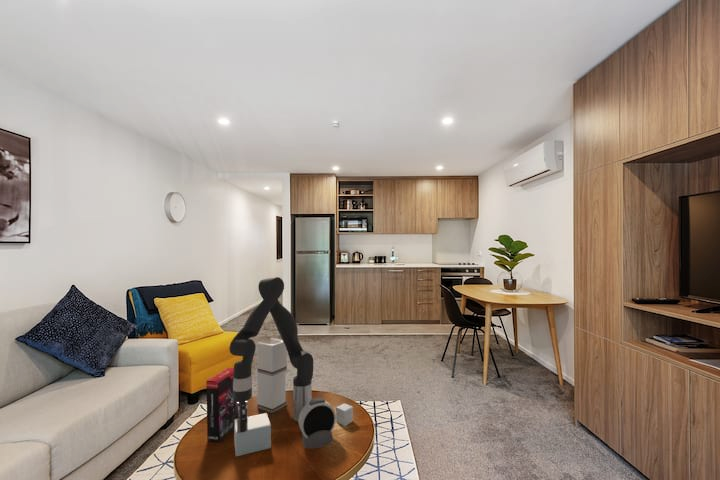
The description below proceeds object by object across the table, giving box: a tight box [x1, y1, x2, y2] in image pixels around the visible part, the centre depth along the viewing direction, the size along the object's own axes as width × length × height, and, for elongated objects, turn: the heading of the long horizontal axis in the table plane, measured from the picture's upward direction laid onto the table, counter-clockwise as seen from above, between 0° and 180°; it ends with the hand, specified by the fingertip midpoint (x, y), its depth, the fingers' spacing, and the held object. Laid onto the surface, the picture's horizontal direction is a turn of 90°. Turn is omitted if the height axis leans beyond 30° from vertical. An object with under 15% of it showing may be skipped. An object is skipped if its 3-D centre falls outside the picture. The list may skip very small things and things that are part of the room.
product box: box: [335, 403, 354, 427], centre depth 163 cm, size 6×6×7 cm
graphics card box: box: [205, 367, 239, 443], centre depth 155 cm, size 17×7×27 cm, turn 168°
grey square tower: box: [256, 337, 288, 414], centre depth 180 cm, size 11×11×35 cm
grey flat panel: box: [235, 416, 272, 457], centre depth 139 cm, size 14×1×15 cm, turn 114°
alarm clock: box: [297, 397, 337, 450], centre depth 147 cm, size 16×10×18 cm, turn 115°
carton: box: [233, 412, 271, 454], centre depth 144 cm, size 14×11×10 cm
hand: (242, 427), depth 137 cm, fingers open, 5 cm apart
